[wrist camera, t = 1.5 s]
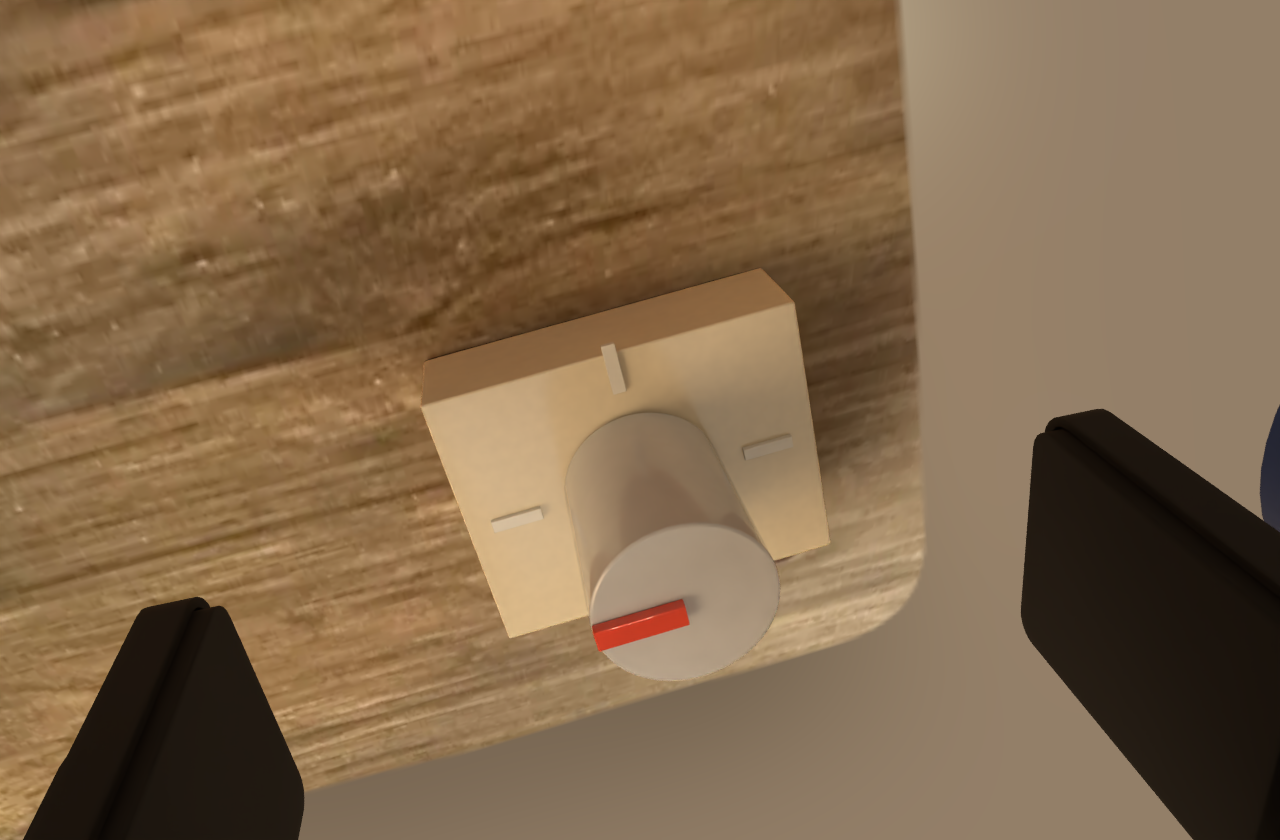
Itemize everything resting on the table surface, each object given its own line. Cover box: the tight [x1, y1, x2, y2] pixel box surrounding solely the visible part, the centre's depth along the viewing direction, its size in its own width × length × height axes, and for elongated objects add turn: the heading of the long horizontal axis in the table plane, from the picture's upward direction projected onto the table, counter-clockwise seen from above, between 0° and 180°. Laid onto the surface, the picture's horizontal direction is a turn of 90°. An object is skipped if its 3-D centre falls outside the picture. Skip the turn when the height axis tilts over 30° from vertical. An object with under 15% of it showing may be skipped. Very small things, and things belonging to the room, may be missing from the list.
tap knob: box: [564, 412, 780, 681], centre depth 23 cm, size 4×4×6 cm
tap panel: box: [421, 268, 831, 638], centre depth 27 cm, size 10×9×3 cm
